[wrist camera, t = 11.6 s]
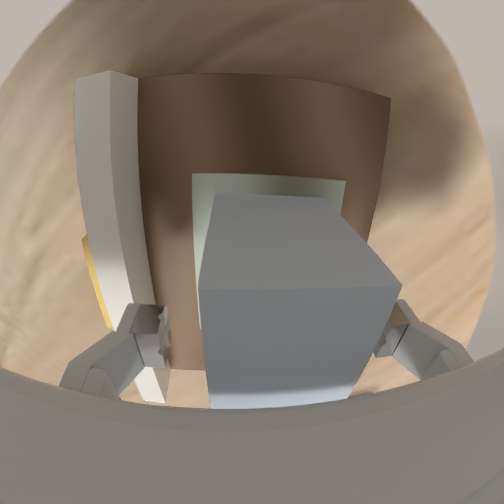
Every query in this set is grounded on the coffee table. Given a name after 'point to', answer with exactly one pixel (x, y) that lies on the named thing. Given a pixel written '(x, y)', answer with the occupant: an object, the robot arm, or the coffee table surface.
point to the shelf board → (244, 167)
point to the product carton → (287, 302)
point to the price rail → (114, 204)
